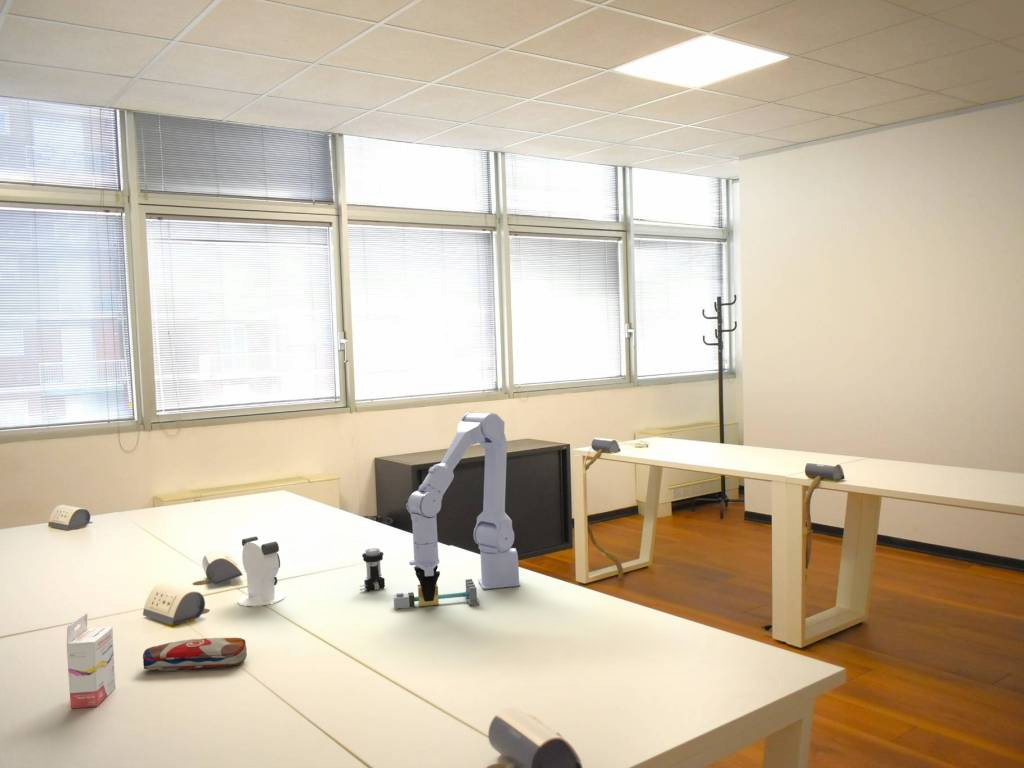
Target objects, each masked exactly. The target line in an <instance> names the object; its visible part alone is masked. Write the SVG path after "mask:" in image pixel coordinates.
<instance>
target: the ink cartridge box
mask: <svg viewBox="0 0 1024 768" xmlns="http://www.w3.org/2000/svg"><path fill="white" fill-rule="evenodd" d="M78 625H80V627H78V628H77V626H78ZM76 628H77V629H76ZM75 629H76V630H75ZM113 633H114V631H113V627H112V626H105V627H94V628H93V627H91V628H88V613H84V614H83V615H81V616H80V617H79V618H77V619H76V620H74V621H73V622H72V623H70V624H69V625H68V626H67V631H66V654H67V655H66V656H67V657H66V658H67V671H68V675H67V676H68V687H69V700H70V701H69V703H70V708H71V709H79V708H80V709H81V708H94V707H95V708H96V707H99V705H100V704H101V703H102V702H103V701H105V699H106V698H107V697H108V696H109V695H110V694H112V692H113V691H114V690H116V671H115V657H114V656H115V654H114V637H113Z"/></svg>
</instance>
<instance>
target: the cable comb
mask: <svg viewBox="0 0 1024 768" xmlns="http://www.w3.org/2000/svg"><path fill="white" fill-rule="evenodd" d="M465 592H468V596H465V597H466V598H465V597H464V598H465V599H466V603H467V604H469V605H468V607H471V606H470V605H475V606H480V601H479V598H478V597H477V586H476V584H475V582H474V581H473V578H466V579H465Z"/></svg>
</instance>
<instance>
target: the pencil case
mask: <svg viewBox="0 0 1024 768" xmlns="http://www.w3.org/2000/svg"><path fill="white" fill-rule="evenodd" d="M246 644H247V643H246V640H245V638H241V637H210V638H209V637H208V638H207V637H206V638H191V639H184V640H182V639H181V640H178V641H172V642H168V643H163V644H160V645H155V646H151V647H148V648H146V649H144V651H143V653H142V654H143V655H142V660H143V661H142V663H143V670H147V671H149V672H165V671H166V672H171V671H173V670H174V671H181V670H186V669H199V668H217V667H228V666H237V665H240V664H242V663H244V661H246V659H247V655H248V652H247V650H248V649H247V645H246Z"/></svg>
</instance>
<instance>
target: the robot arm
mask: <svg viewBox="0 0 1024 768" xmlns="http://www.w3.org/2000/svg"><path fill="white" fill-rule="evenodd" d="M505 424H506V423H505V421H504V420H503V419H502V418H501V417H500V416H499V415H498V414H497V413H493V412H491V413H484V412H483V413H481V412H473V411H469V412H466V413H465V414H464V415H463V416H462V417H461V419H460V421H459V423H458V424H457V432H456V434H455V436H454V438H453V440H452V441H451V444H450V445H449V447H448V449H447V451H446V452H445V454H444V455H443V456H444V457H443V458H442V460H441V462H440V463H437V464H436V463H435V464H433V466H430V467H429V469H428V474H427V475H426V477H425V478H424V480H423V481H422V483H421V484H420V485H418V489H417V490H415V491H414V492H412V493H411V494H410V496H409V497H408V499H407V503H406V504H405V506H406V510H407V511H408V513H409V514H410V520H411V522H412V523H411V524H412V525H411V526H412V539H413V540H412V543H413V560H412V559H411V560H409V561H408V563H409V565H410V566H414V567H413V569H414V571H415V576H416V578H417V579H418V581H419V585H421V588H422V593H423V598H424V601H425V602H426V601H433V600H434V595H435V588H436V583H438V580H439V578H440V575H441V571H439V570H438V568H439V564H440V558H439V547H438V546H439V544H438V525H437V524H438V522H437V514H439V512H440V511H441V509H442V501H443V496H444V495H445V493H446V491H447V489H448V488H449V487H450V485H451V483H452V482H453V480H454V478H455V474H454V469H456V467H457V465H458V464H459V462H460V461H461V459H462V458H463V457H464V456H465V454H466V453H467V451H468V450H469V448H470V447H471V446H473V445H478V444H479V445H480V446H481V447H482V448H483V450H484V471H483V472H484V478H483V502H482V504H483V505H482V507H483V509H482V511H481V513H479V515H478V516H477V517H476V524H475V527H474V528H473V535H472V536H473V541H474V542H475V543H476V544H477V545H478V549H479V550H480V572H481V578H480V579H478V583H479V584H480V586H481V589H483V590H490V589H498V588H499V589H500V588H502V589H503V588H510V587H511V588H512V587H519V586H520V585H521V584H520V572H519V571H520V569H519V566H520V565H519V556H518V551H517V548H516V547H513V544H514V543H515V531H514V530H513V529H514V528H513V520H512V519H511V518H510V516H509V515H508V514H507V513H506V489H507V488H506V486H507V485H506V484H507V483H506V480H507V454H508V451H507V450H508V442H507V438H506V434H505Z"/></svg>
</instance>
